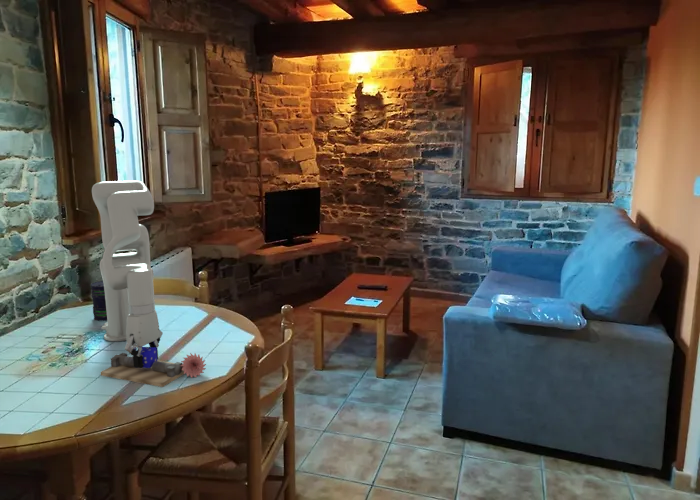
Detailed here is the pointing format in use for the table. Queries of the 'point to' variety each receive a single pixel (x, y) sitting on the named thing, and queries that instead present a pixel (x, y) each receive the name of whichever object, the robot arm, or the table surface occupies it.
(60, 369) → the table surface
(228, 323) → the table surface
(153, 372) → the shaft bed
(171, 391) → the table surface
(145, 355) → the die
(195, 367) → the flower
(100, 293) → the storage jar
